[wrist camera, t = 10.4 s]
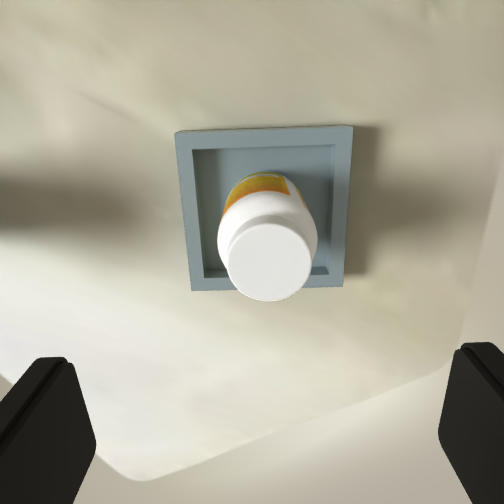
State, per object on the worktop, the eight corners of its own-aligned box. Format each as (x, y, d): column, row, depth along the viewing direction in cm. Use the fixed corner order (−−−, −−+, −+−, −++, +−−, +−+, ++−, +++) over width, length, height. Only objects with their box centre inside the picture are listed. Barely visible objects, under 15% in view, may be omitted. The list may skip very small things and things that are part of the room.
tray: (180, 130, 24) (174, 133, 22) (345, 124, 24) (353, 126, 22) (195, 278, 28) (191, 290, 27) (336, 274, 28) (342, 286, 26)
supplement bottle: (210, 215, 26) (187, 275, 17) (257, 153, 24) (257, 182, 15) (270, 257, 27) (277, 334, 18) (318, 201, 25) (352, 254, 16)
